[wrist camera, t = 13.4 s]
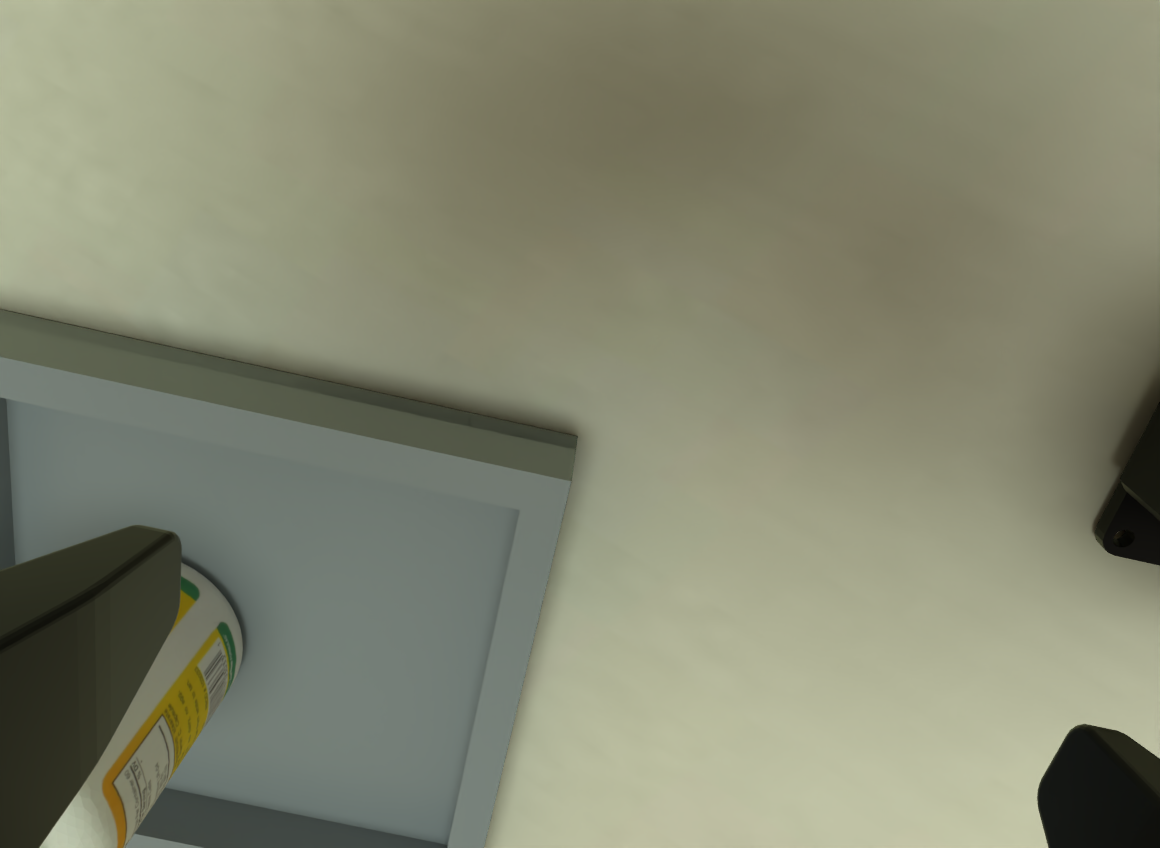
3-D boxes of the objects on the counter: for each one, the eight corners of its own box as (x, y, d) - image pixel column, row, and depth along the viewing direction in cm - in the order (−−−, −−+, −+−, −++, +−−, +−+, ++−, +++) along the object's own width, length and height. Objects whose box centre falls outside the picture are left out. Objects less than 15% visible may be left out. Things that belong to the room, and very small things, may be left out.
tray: (577, 436, 22) (571, 481, 20) (479, 852, 28) (465, 924, 26) (-17, 305, 21) (-95, 336, 19) (11, 757, 27) (-46, 822, 25)
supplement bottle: (286, 661, 24) (86, 1009, 15) (141, 726, 25) (-122, 1083, 17) (164, 508, 22) (-142, 802, 14) (14, 587, 24) (-353, 902, 15)
